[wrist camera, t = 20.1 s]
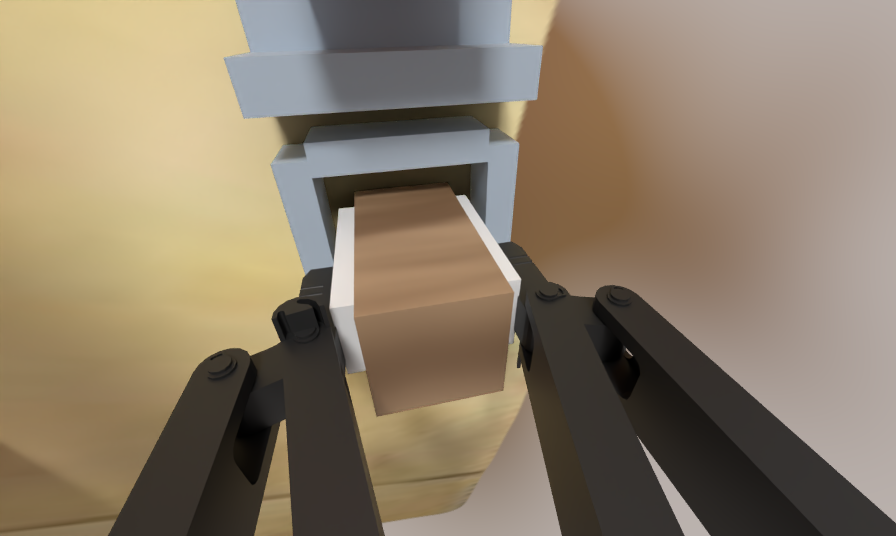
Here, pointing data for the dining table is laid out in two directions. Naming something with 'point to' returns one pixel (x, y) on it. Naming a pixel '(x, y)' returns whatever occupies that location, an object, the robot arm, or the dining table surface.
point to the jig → (383, 97)
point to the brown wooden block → (426, 299)
